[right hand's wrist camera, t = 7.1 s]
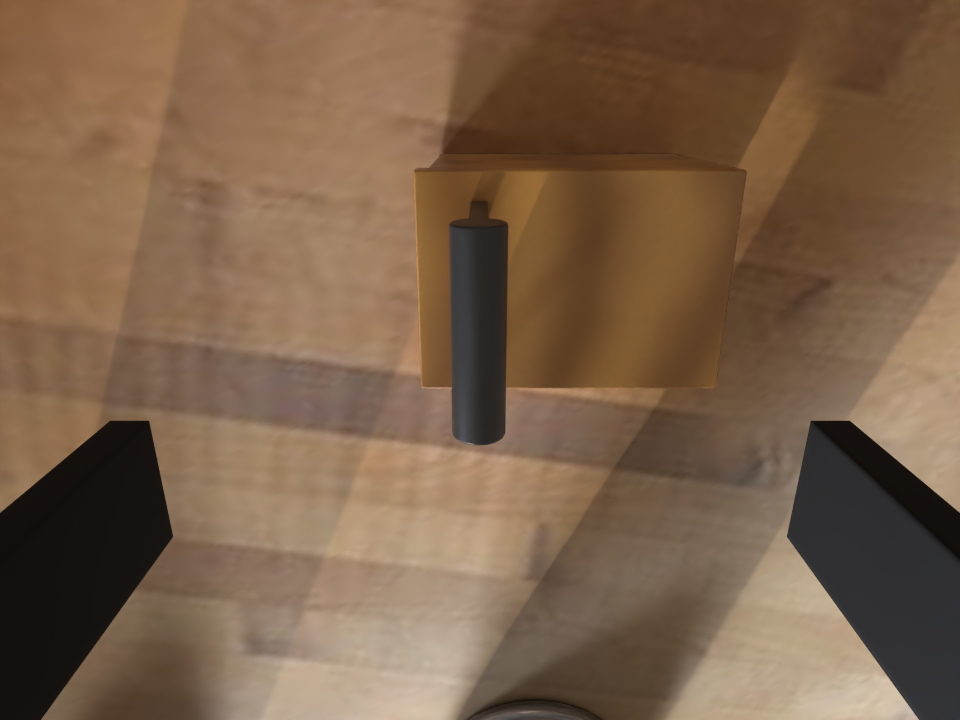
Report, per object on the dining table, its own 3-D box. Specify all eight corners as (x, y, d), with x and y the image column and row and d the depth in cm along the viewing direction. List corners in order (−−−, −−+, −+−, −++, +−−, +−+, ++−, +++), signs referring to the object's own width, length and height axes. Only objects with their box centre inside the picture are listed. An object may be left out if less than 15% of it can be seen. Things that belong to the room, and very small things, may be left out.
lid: (423, 379, 30) (403, 472, 22) (415, 167, 26) (388, 190, 19) (707, 379, 30) (787, 473, 22) (737, 168, 26) (843, 191, 19)
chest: (444, 319, 38) (433, 379, 30) (440, 153, 35) (427, 167, 27) (657, 319, 38) (707, 379, 30) (674, 153, 35) (737, 167, 26)
